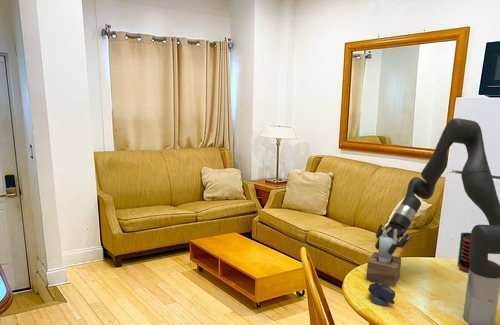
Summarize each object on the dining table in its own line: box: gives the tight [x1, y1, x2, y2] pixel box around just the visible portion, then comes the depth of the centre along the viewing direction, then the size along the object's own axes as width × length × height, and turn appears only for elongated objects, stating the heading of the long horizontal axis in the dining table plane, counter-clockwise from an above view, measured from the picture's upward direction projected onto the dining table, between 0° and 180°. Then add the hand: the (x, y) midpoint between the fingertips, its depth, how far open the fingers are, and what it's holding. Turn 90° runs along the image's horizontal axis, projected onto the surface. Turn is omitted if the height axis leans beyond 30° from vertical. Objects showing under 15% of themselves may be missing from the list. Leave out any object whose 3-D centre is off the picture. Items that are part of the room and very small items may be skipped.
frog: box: [367, 280, 396, 307], centre depth 140 cm, size 9×11×7 cm
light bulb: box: [377, 235, 394, 264], centre depth 157 cm, size 5×5×14 cm
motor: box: [456, 232, 471, 274], centre depth 167 cm, size 10×9×20 cm
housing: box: [365, 251, 402, 288], centre depth 158 cm, size 12×11×8 cm
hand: (383, 250), depth 156 cm, fingers closed on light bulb, 5 cm apart
